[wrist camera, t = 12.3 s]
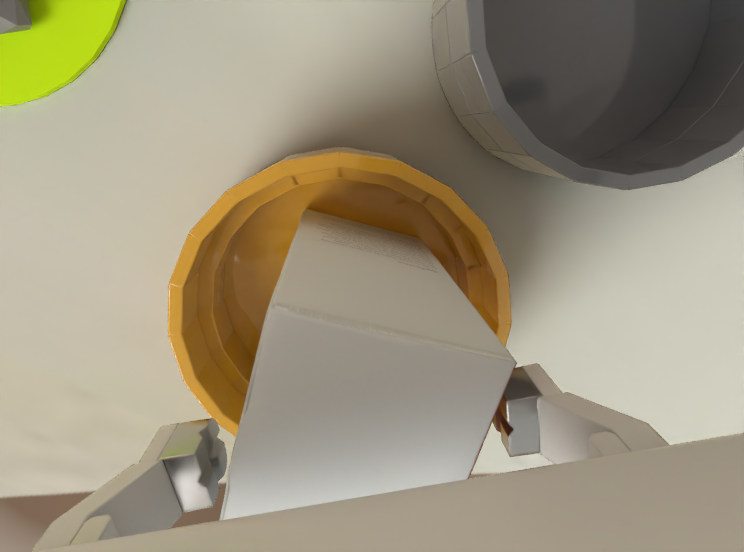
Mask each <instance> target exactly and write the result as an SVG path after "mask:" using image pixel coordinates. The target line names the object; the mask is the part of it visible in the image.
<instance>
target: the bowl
mask: <svg viewBox="0 0 744 552" xmlns="http://www.w3.org/2000/svg"><path fill="white" fill-rule="evenodd" d="M305 209H309V210H313V211H317V212H321V213H324V214H328V215H332V216H336V217H340V218H343V219H347V220H351V221H355V222H359V223H363V224H366V225H370V226H374V227H378V228H382V229H386V230H389V231H393V232H397V233H401V234H405V235H409V236H413V237H417V238H420V239H422V241H423V242H424V243H425V244H426V246H427V247H428V248H429V249H430V251H431V252H432V253H433V255H434V256H435V257H436V258H437V260H438V261H439V262H440V263H441V265H442V266H443V267H444V269H445V270H446V271H447V273H448V274H449V275H450V276H451V278H452V279H453V280H454V282H455V283H456V284H457V286H458V287H459V288H460V289H461V291H462V292H463V293H464V294H465V296H466V297H467V299H468V300H469V301H470V302H471V304H472V305H473V306H474V307H475V309H476V310H477V311H478V312H479V314H480V315H481V316H482V318H483V319H484V320H485V322H486V323H487V324H488V325H489V327H490V328H491V329H492V331H493V332H494V333H495V335H496V336H497V337H498V339H499V340H500V341H501V342H502V344H503V345H504V346H506V343H507V339H508V335H509V332H510V328H511V306H510V290H509V276H508V272H507V270H506V268H505V265H504V263H503V261H502V258H501V256H500V254H499V251H498V249H497V247H496V244H495V242H494V240H493V238H492V235H491V233H490V231H489V229H488V228H487V226H486V225H485V224H484V223H483V222H482V220H481V219H480V218H479V217H478V216H477V215H476V214H475V213H474V212H473V211H472V210H471V209H470V208H469V207H468V205H467V204H466V203H465V202H464V201H463V200H462V199H461V198H460V197H459V196H458V195H457V194H456V193H455V192H454V190H453V189H451V188H450V187H449V186H447V185H445V184H443V183H441V182H440V181H438V180H436V179H434V178H432V177H431V176H429V175H427V174H425V173H423V172H421V171H419V170H417V169H415V168H414V167H412V166H410V165H408V164H406V163H404V162H402V161H400V160H398V159H396V158H395V157H393V156H391V155H388V154H385V153H378V152H372V151H366V150H360V149H353V148H347V147H340V148H339V147H333V148H327V149H321V150H315V151H309V152H303V153H297V154H292V155H289V156H287V157H286V158H284V159H282V160H280V161H278V162H276V163H275V164H273V165H271V166H269V167H267V168H265V169H264V170H262V171H260V172H258V173H256V174H254V175H252V176H251V177H249V178H247V179H245V180H244V181H242V182H240V183H239V184H237V185H235V186H233V187H232V188H230V189H228V191H226V192H225V193H224V194H223V195H222V196H221V197H220V198H219V200H218V201H217V202H216V203H215V204H214V205H213V206H212V207H211V208H210V210H209V211H208V212H207V213H206V214H205V215H204V216H203V217H202V219H201V220H200V221H199V222H198V223H197V224H196V225H195V226H194V227H193V229H192V230H191V231H190V233H189V234H188V236H187V238H186V241H185V243H184V246H183V248H182V251H181V253H180V256H179V258H178V261H177V264H176V266H175V269H174V271H173V274H172V276H171V279H170V281H169V283H170V284H169V294H168V337H169V340H170V343H171V346H172V349H173V352H174V355H175V357H176V360H177V363H178V366H179V369H180V372H181V375H182V378H183V381H184V382H185V384H186V386H187V387H188V388H189V389H190V391H191V392H192V393H193V395H194V396H195V397H196V399H197V400H198V401H199V402H200V404H201V405H202V406H203V408H204V409H205V410H206V412H207V413H208V414H209V415H210V417H211V418H213V419H215V420H216V421H217V424H219V425H220V426H222V427H223V428H224V429H226V430H227V431H229V432H230V433H231V434H233V435H234V436H237V432H238V428H239V424H240V420H241V416H242V411H243V407H244V403H245V399H246V395H247V391H248V387H249V383H250V378H251V374H252V370H253V366H254V362H255V358H256V354H257V349H258V345H259V341H260V337H261V333H262V329H263V325H264V321H265V317H266V313H267V310H268V307H269V304H270V301H271V298H272V295H273V293H274V290H275V287H276V285H277V282H278V279H279V277H280V274H281V271H282V269H283V266H284V263H285V260H286V257H287V255H288V252H289V249H290V246H291V243H292V241H293V238H294V236H295V234H296V231H297V228H298V225H299V223H300V220H301V217H302V214H303V211H304V210H305Z"/></svg>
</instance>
